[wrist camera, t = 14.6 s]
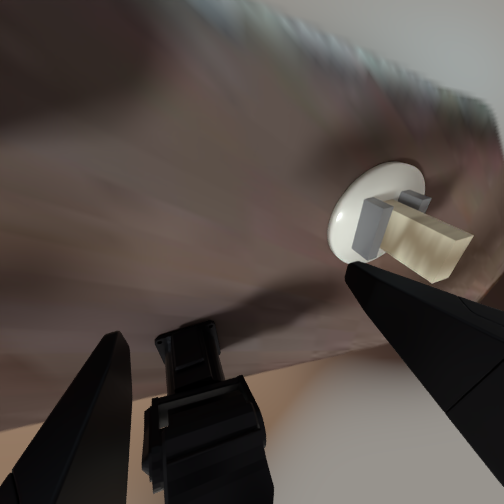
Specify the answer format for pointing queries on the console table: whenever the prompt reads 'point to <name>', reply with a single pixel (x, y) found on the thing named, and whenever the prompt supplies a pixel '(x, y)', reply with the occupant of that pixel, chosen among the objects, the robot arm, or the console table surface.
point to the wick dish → (373, 209)
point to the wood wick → (423, 242)
